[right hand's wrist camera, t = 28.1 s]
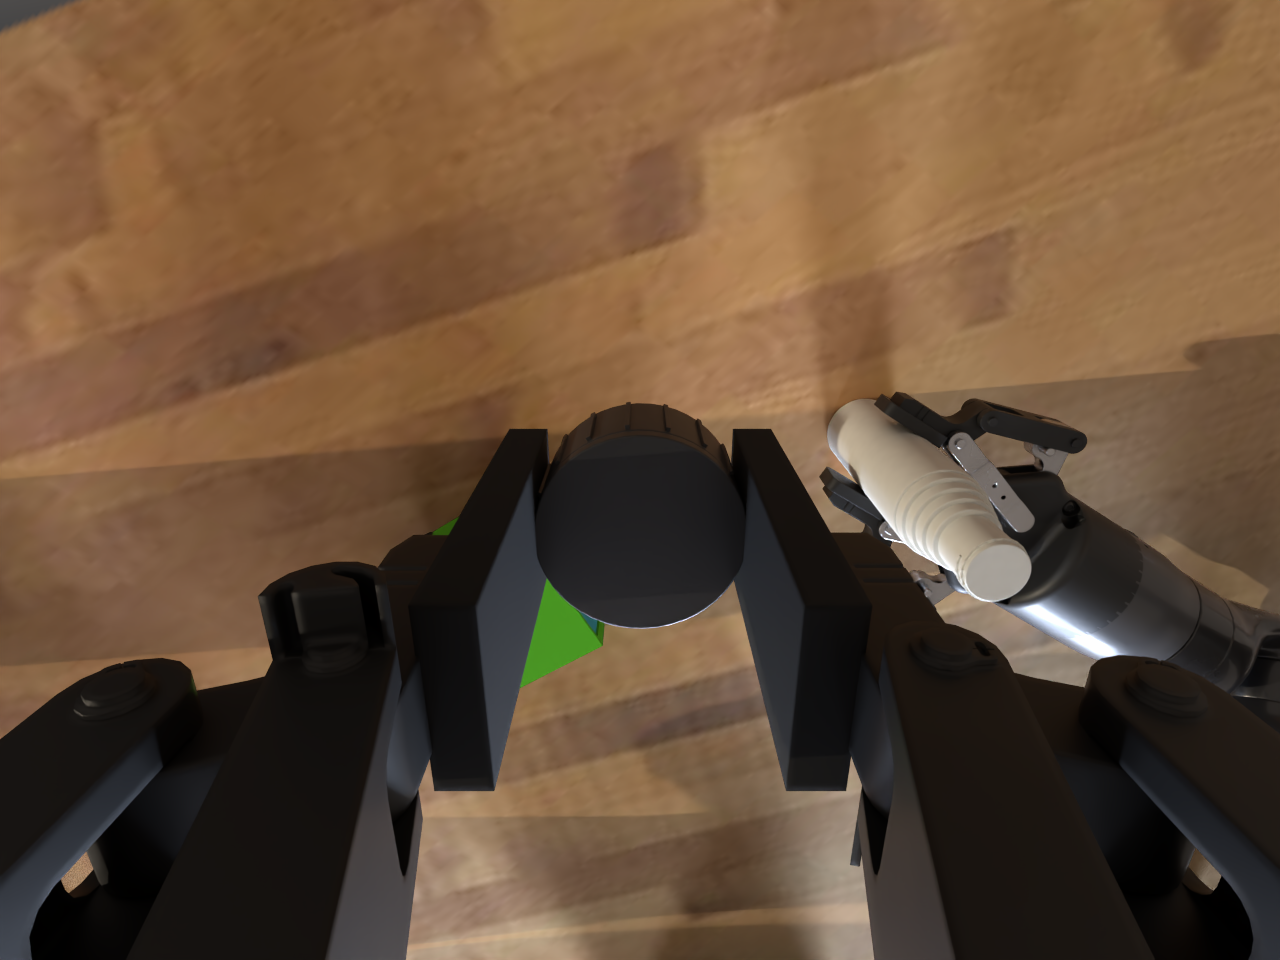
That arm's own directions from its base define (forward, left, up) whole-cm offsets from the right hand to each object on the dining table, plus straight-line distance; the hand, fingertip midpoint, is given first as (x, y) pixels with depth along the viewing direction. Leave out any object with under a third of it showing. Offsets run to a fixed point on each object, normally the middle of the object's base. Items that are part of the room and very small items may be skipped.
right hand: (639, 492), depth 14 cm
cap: (0, 0, +2) cm, 2 cm away
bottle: (-8, -14, -29) cm, 33 cm away
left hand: (-7, -12, -23) cm, 27 cm away
